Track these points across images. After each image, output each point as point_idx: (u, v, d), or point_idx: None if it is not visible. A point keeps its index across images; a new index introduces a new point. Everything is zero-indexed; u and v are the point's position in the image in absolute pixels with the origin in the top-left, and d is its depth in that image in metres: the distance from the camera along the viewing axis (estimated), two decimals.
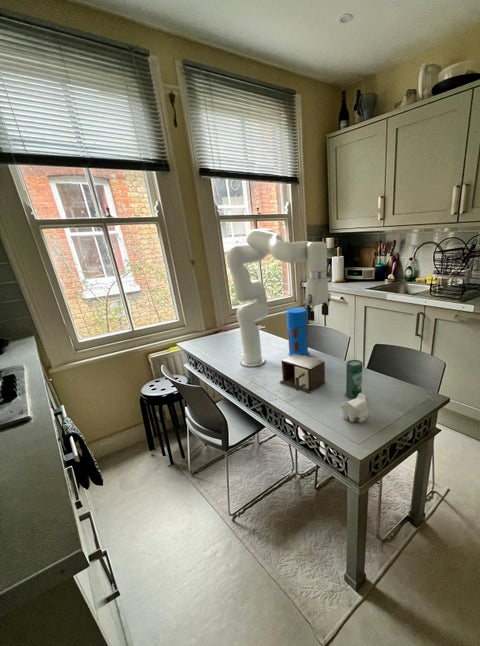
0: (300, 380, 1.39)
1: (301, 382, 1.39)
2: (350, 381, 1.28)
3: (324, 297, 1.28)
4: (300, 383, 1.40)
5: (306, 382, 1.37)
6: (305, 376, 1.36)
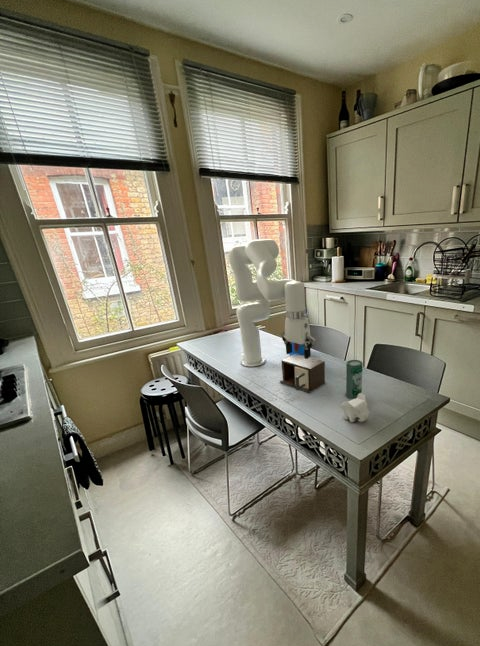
0: (300, 380, 1.39)
1: (301, 382, 1.39)
2: (350, 381, 1.28)
3: (296, 338, 1.23)
4: (300, 383, 1.40)
5: (306, 382, 1.37)
6: (305, 376, 1.36)
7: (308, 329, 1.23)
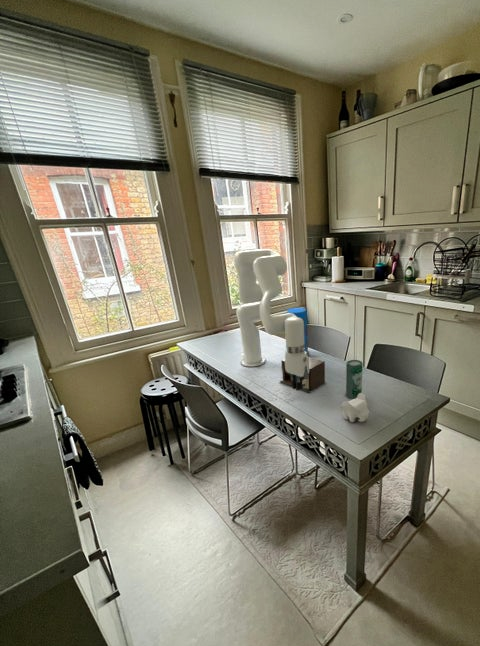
0: None
1: None
2: (350, 381, 1.28)
3: (295, 370, 1.28)
4: None
5: (306, 382, 1.37)
6: None
7: (307, 362, 1.28)
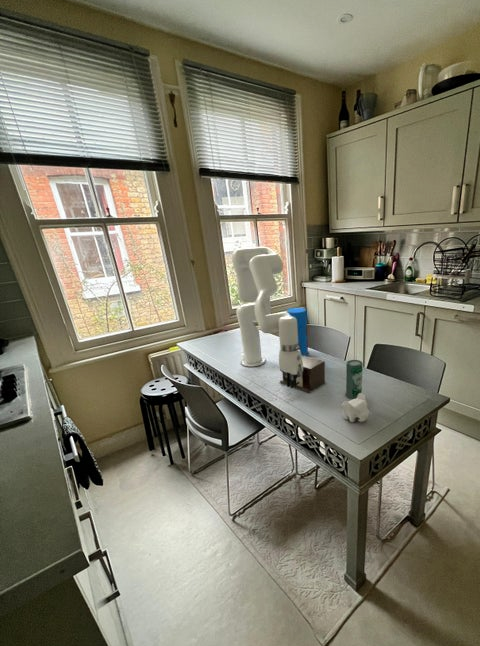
0: None
1: None
2: (350, 381, 1.28)
3: (289, 368, 1.31)
4: None
5: (300, 380, 1.39)
6: None
7: (300, 360, 1.30)
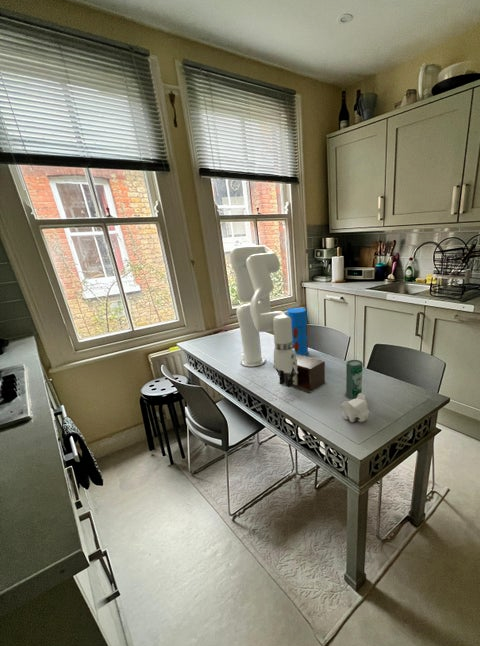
0: None
1: None
2: (350, 381, 1.28)
3: (284, 367, 1.32)
4: None
5: (295, 378, 1.41)
6: None
7: (295, 359, 1.31)
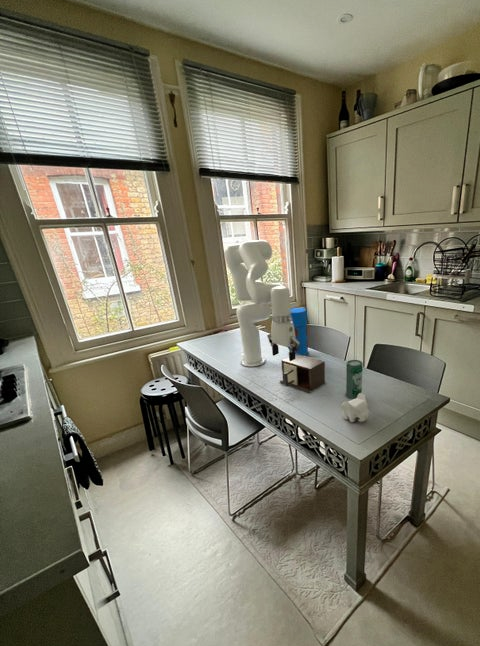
0: (289, 376, 1.43)
1: (290, 378, 1.43)
2: (350, 381, 1.28)
3: (281, 341, 1.28)
4: (289, 379, 1.44)
5: (295, 378, 1.41)
6: (294, 372, 1.40)
7: (293, 332, 1.27)
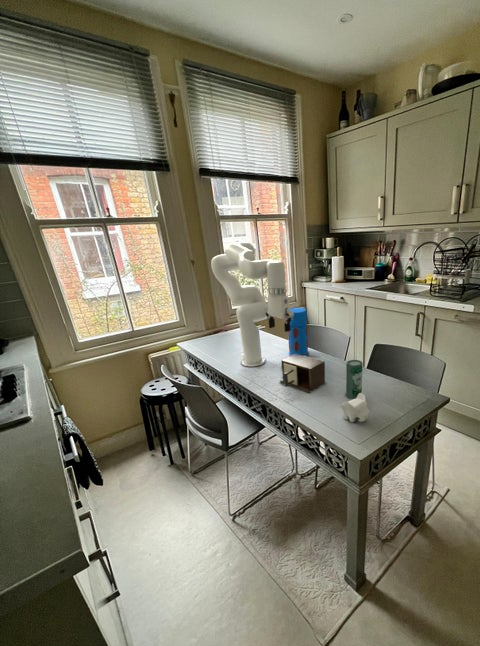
0: (289, 376, 1.43)
1: (290, 378, 1.43)
2: (350, 381, 1.28)
3: (277, 312, 1.37)
4: (289, 379, 1.44)
5: (295, 378, 1.41)
6: (294, 372, 1.40)
7: (288, 304, 1.36)
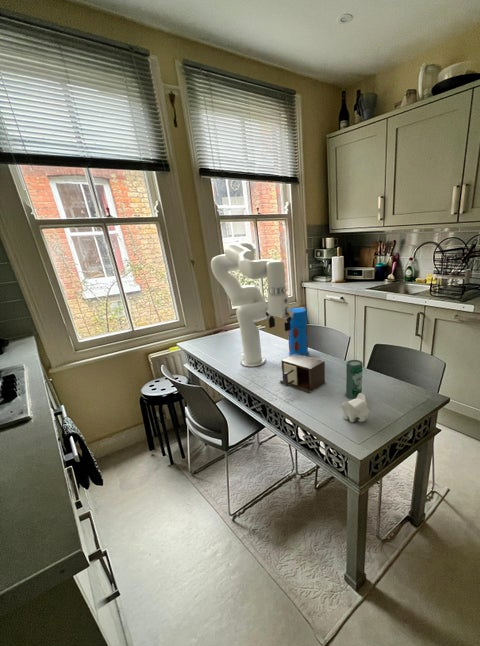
0: (289, 376, 1.43)
1: (290, 378, 1.43)
2: (350, 381, 1.28)
3: (277, 312, 1.37)
4: (289, 379, 1.44)
5: (295, 378, 1.41)
6: (294, 372, 1.40)
7: (288, 304, 1.36)
